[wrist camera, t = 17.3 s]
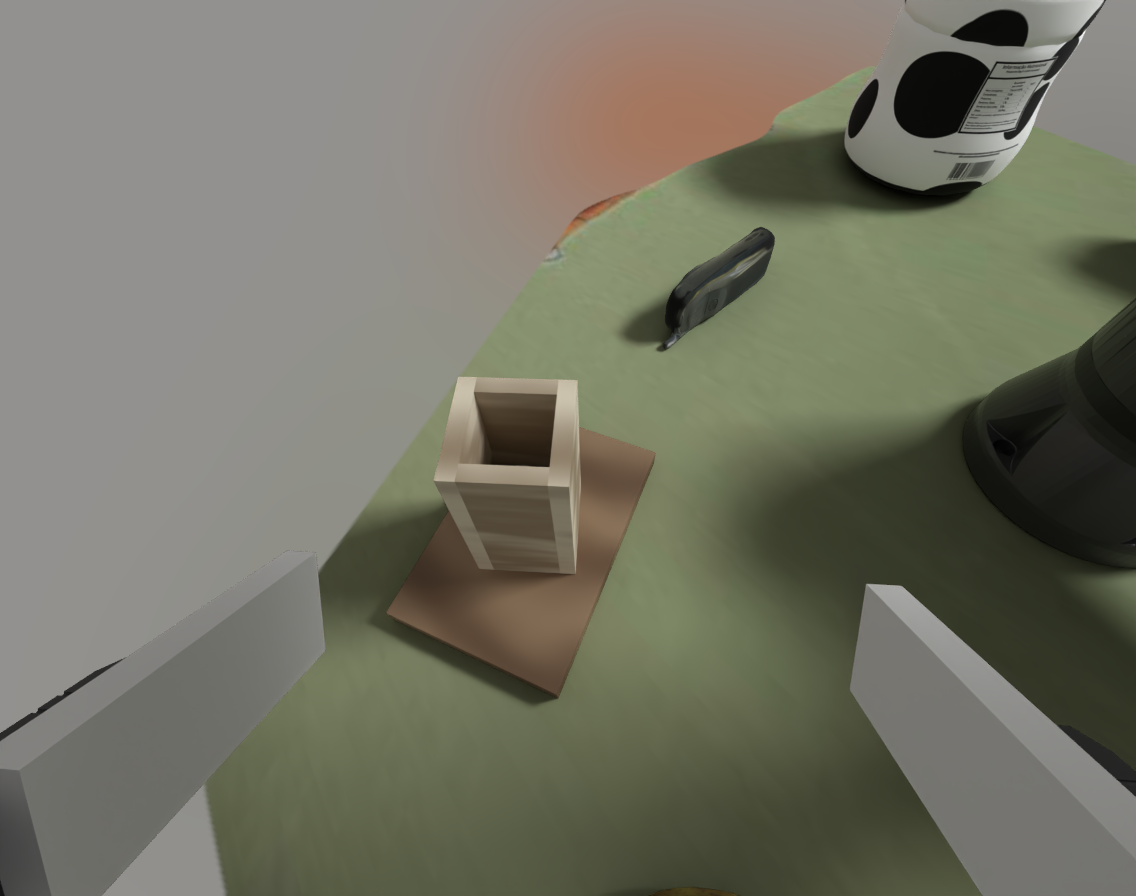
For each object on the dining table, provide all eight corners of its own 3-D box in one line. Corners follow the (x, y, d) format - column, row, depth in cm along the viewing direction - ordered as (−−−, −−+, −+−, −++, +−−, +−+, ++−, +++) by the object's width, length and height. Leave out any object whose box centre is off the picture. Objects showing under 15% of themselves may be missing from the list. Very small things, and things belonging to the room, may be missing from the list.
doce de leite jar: (882, 114, 67) (966, -80, 52) (1021, 165, 60) (1166, -43, 45) (804, 167, 61) (874, -34, 46) (948, 231, 54) (1087, 17, 39)
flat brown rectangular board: (515, 415, 43) (500, 341, 36) (653, 463, 40) (667, 392, 33) (393, 619, 35) (340, 575, 27) (558, 698, 32) (548, 672, 24)
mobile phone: (757, 218, 49) (653, 294, 43) (785, 231, 48) (681, 311, 42) (743, 263, 53) (646, 338, 47) (769, 277, 52) (672, 355, 46)
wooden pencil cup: (493, 484, 38) (458, 376, 28) (580, 488, 38) (577, 380, 28) (479, 568, 35) (433, 480, 25) (575, 574, 34) (569, 486, 24)
